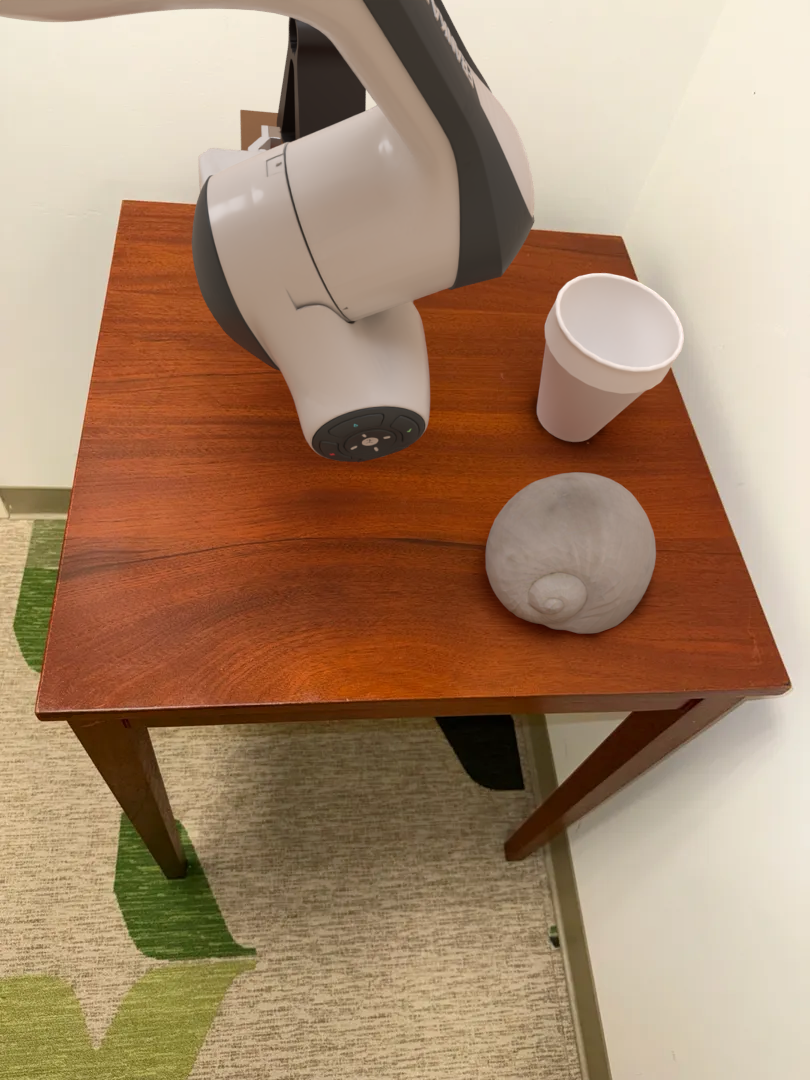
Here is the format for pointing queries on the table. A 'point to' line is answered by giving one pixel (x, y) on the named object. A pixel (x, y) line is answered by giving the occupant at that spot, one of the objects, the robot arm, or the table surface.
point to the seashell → (571, 553)
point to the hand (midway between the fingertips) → (331, 139)
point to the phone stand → (315, 85)
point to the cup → (603, 352)
